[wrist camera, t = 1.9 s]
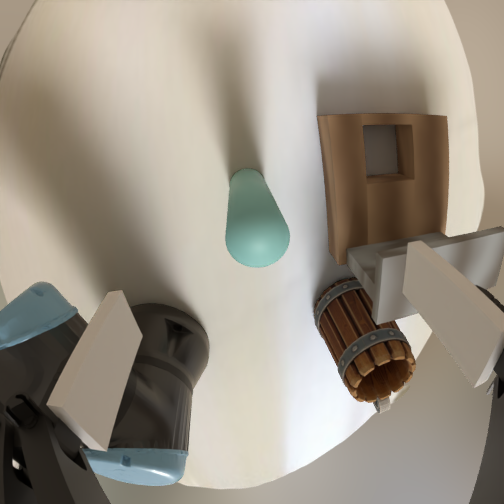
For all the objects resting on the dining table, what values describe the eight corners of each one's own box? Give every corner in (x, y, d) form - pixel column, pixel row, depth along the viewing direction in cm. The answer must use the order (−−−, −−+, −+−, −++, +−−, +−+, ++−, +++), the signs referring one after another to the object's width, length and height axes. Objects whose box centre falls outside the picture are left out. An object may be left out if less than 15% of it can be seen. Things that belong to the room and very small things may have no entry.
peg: (233, 205, 33) (231, 272, 19) (227, 171, 32) (219, 214, 17) (267, 199, 33) (292, 261, 19) (262, 165, 32) (285, 203, 17)
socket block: (329, 251, 37) (376, 324, 23) (316, 115, 29) (378, 113, 16) (428, 233, 36) (495, 285, 22) (428, 114, 29) (514, 125, 15)
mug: (304, 290, 39) (334, 372, 25) (373, 264, 38) (428, 331, 24) (326, 361, 45) (349, 433, 32) (382, 338, 44) (419, 404, 31)
